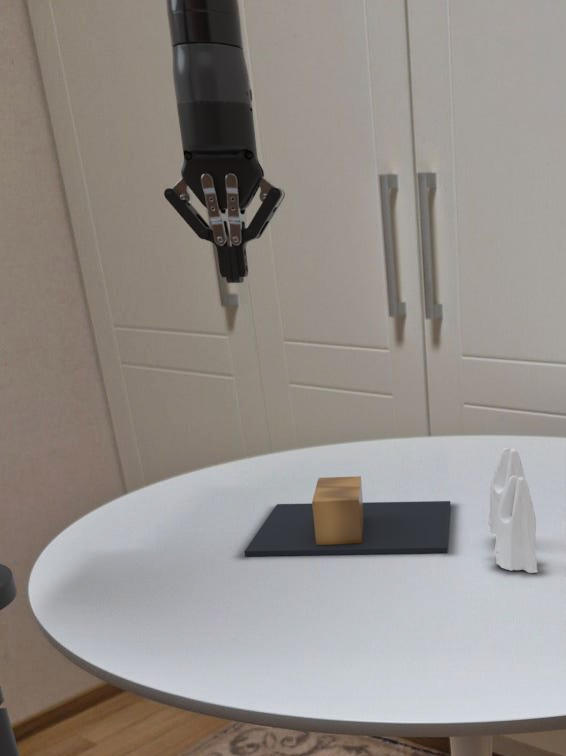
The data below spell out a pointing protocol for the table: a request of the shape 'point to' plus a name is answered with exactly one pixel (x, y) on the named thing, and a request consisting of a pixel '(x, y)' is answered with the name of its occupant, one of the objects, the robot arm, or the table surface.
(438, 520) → the rubber mat
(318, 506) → the oak block
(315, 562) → the table surface
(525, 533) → the shaker set
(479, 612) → the table surface
